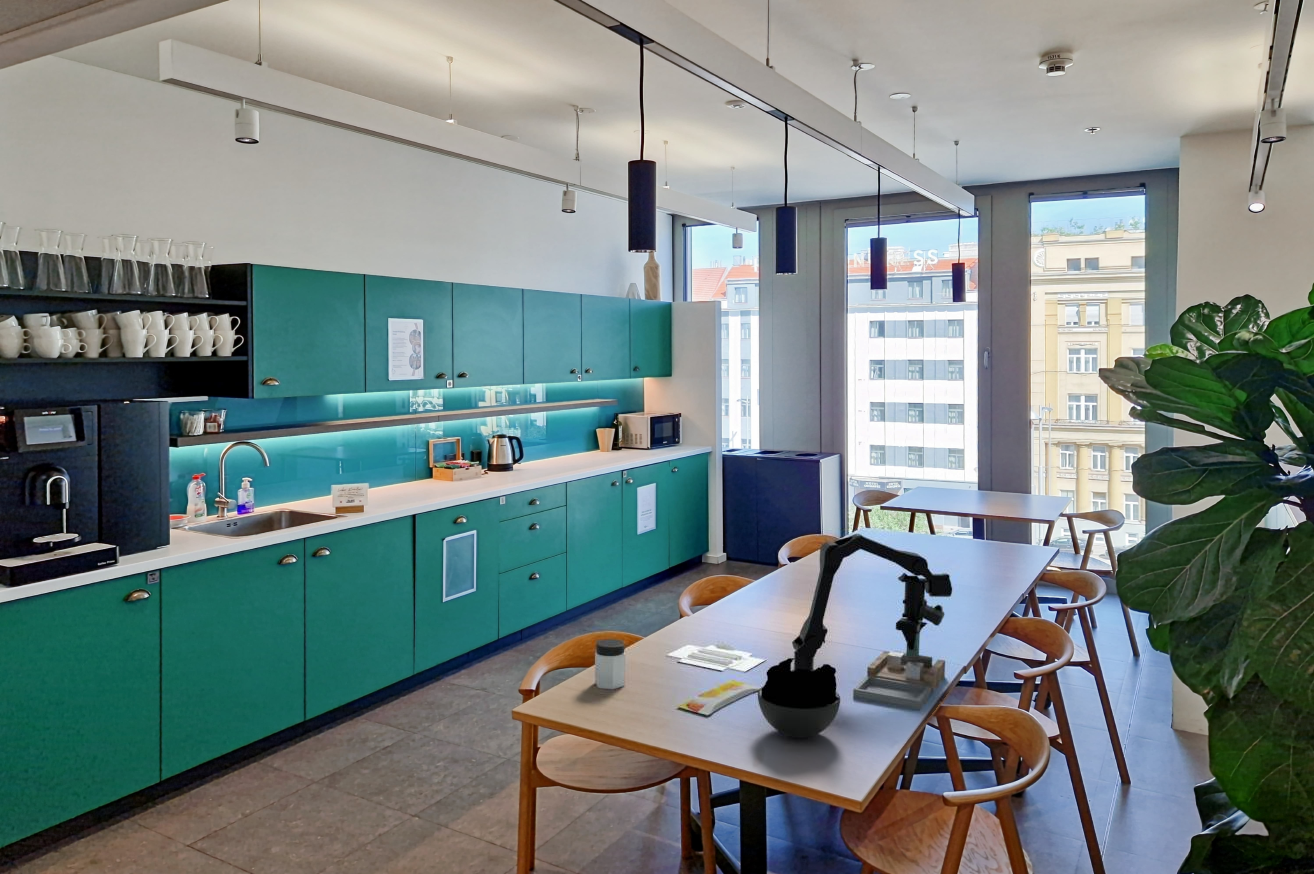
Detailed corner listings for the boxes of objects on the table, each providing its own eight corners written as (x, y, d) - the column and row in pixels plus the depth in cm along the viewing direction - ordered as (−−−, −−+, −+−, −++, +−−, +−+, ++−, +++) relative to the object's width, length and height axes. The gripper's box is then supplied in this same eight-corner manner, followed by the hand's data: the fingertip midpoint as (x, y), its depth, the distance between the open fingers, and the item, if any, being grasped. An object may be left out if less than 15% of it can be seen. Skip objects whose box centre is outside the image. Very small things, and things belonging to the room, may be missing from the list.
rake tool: (930, 667, 263) (931, 636, 263) (892, 661, 268) (893, 630, 268) (932, 664, 266) (933, 633, 265) (895, 658, 271) (896, 628, 271)
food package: (732, 676, 258) (762, 683, 252) (732, 683, 258) (762, 691, 252) (676, 702, 237) (707, 711, 231) (676, 710, 237) (707, 719, 231)
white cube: (900, 670, 261) (900, 656, 260) (886, 668, 263) (887, 654, 262) (904, 666, 264) (904, 653, 264) (890, 664, 266) (890, 651, 266)
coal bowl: (740, 732, 221) (741, 657, 220) (794, 713, 234) (795, 642, 233) (802, 758, 206) (803, 678, 205) (856, 737, 219) (858, 661, 218)
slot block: (930, 695, 249) (931, 677, 248) (867, 683, 258) (867, 666, 257) (944, 677, 264) (945, 660, 264) (883, 666, 273) (884, 650, 273)
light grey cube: (919, 680, 252) (920, 666, 251) (905, 678, 254) (905, 664, 253) (923, 676, 255) (923, 663, 255) (908, 674, 257) (909, 660, 257)
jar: (627, 688, 252) (627, 646, 251) (598, 690, 250) (599, 648, 249) (620, 678, 260) (621, 637, 259) (593, 680, 258) (593, 639, 257)
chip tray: (919, 710, 237) (919, 701, 237) (853, 697, 246) (853, 689, 246) (930, 695, 248) (931, 686, 248) (866, 684, 257) (866, 675, 257)
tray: (740, 677, 264) (740, 665, 264) (660, 664, 279) (660, 652, 279) (770, 660, 281) (770, 648, 281) (693, 648, 296) (693, 637, 296)
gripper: (935, 606, 254) (933, 660, 255) (949, 593, 270) (947, 644, 271) (896, 601, 259) (894, 654, 260) (911, 588, 275) (910, 638, 276)
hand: (912, 648), depth 267 cm, fingers closed on rake tool, 3 cm apart
